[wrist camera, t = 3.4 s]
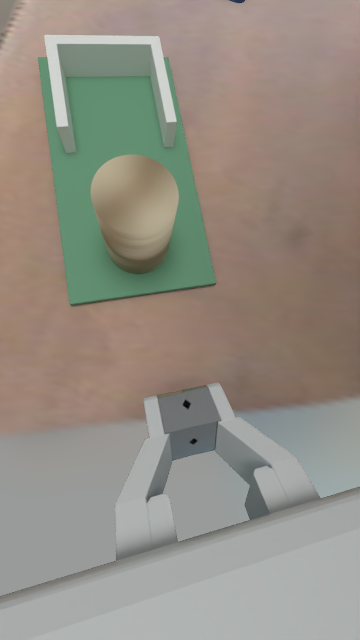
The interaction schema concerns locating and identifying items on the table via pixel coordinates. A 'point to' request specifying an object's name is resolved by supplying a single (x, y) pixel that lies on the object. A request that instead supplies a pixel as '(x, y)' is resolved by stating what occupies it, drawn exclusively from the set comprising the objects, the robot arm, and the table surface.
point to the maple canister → (135, 211)
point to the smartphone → (238, 1)
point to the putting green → (112, 141)
